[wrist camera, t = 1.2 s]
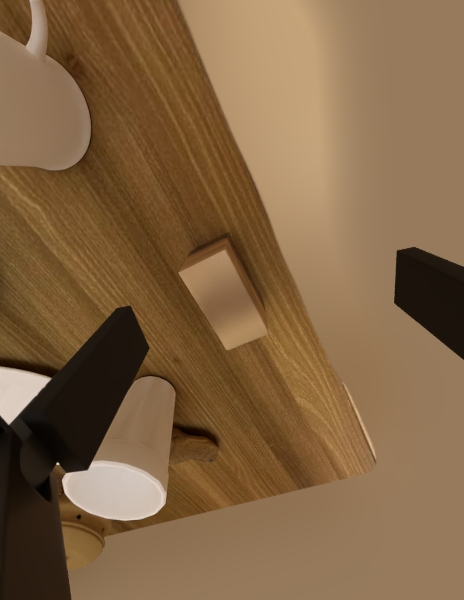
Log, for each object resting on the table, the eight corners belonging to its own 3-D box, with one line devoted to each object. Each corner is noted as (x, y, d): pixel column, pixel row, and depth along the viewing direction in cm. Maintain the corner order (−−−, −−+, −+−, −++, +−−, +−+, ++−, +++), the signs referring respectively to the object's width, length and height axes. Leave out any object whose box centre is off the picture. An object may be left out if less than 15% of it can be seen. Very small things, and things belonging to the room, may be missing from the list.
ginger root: (146, 449, 42) (139, 472, 39) (173, 413, 38) (167, 436, 35) (199, 469, 44) (196, 493, 41) (229, 437, 40) (228, 461, 37)
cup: (198, 376, 35) (178, 478, 23) (178, 422, 39) (152, 529, 27) (126, 353, 34) (65, 451, 22) (113, 404, 38) (56, 508, 26)
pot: (53, 504, 50) (13, 575, 41) (62, 472, 46) (19, 545, 37) (112, 518, 52) (86, 590, 43) (126, 489, 48) (101, 563, 39)
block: (190, 251, 27) (177, 272, 21) (228, 232, 26) (225, 249, 20) (229, 317, 31) (226, 351, 25) (263, 302, 30) (269, 334, 24)
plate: (-22, 340, 33) (-36, 350, 31) (124, 391, 36) (118, 402, 35) (-25, 429, 41) (-37, 441, 39) (95, 464, 44) (89, 476, 43)
